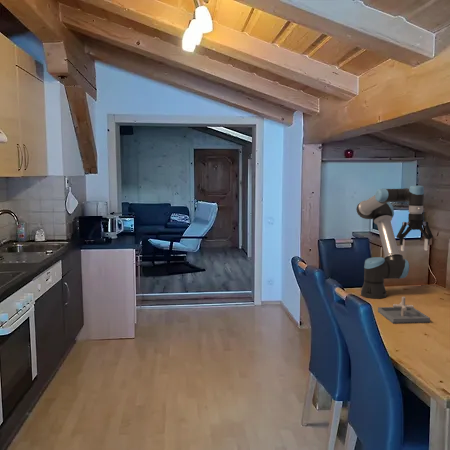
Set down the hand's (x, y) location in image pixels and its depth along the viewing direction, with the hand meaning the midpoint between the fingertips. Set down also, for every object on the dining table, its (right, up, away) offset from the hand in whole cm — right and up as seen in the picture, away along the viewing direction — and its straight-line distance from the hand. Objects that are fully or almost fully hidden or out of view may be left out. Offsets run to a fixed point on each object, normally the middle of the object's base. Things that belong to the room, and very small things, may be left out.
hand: (414, 250), depth 261 cm
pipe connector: (-14, -33, -18) cm, 40 cm away
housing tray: (-13, -34, -18) cm, 41 cm away
